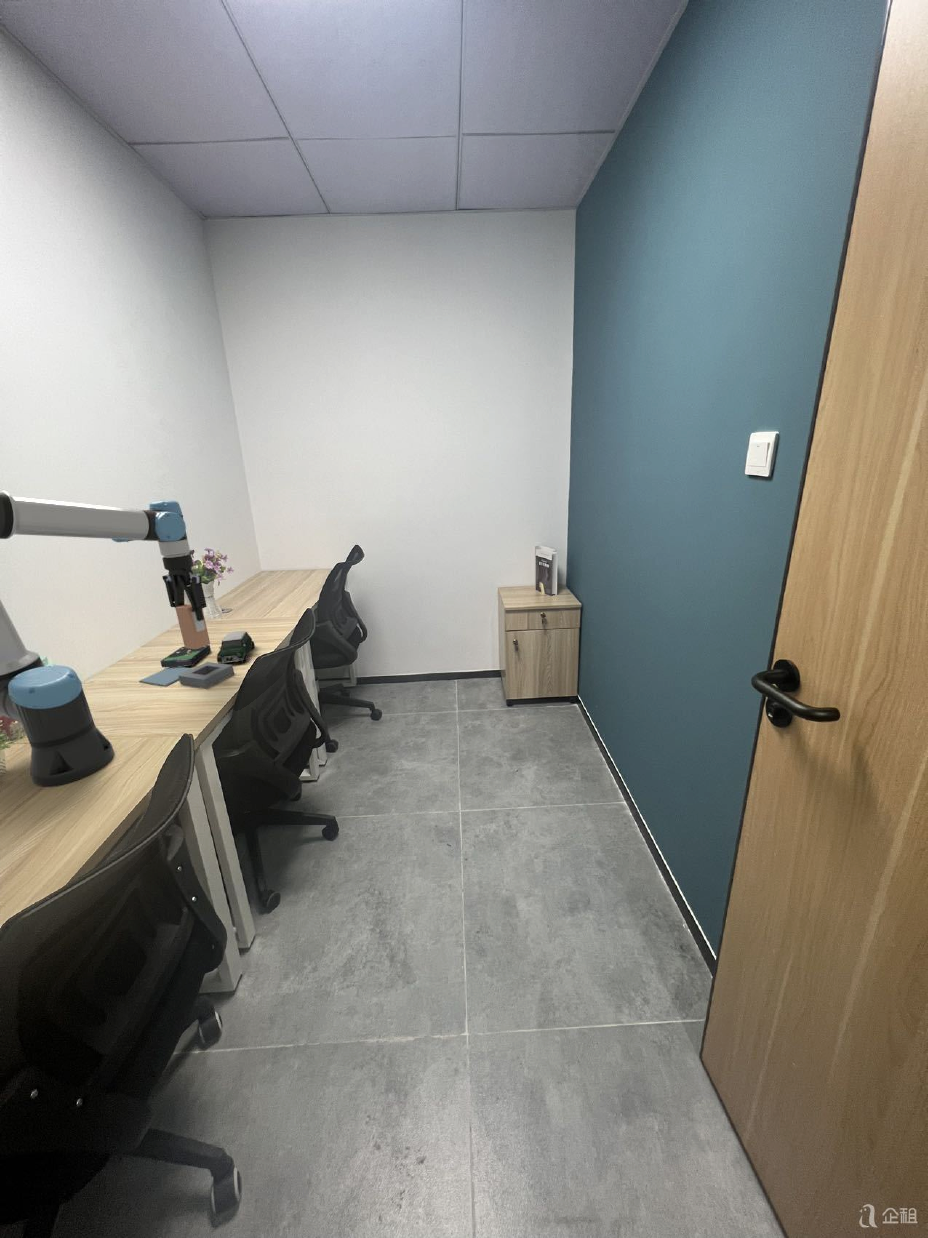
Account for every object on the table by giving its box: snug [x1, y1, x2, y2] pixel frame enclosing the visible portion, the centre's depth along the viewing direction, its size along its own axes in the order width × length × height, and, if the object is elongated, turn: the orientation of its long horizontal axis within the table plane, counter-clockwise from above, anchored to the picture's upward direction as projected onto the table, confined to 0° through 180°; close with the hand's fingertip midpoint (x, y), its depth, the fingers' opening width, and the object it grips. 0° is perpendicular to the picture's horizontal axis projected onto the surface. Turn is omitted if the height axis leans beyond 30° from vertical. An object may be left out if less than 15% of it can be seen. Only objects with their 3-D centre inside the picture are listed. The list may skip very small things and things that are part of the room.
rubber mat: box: [138, 666, 192, 688], centre depth 159 cm, size 12×12×1 cm
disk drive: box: [160, 644, 212, 668], centre depth 171 cm, size 10×3×15 cm
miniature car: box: [216, 630, 255, 664], centre depth 171 cm, size 9×18×8 cm, turn 11°
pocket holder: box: [178, 661, 235, 689], centre depth 155 cm, size 11×11×3 cm
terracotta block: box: [174, 602, 211, 649], centre depth 149 cm, size 5×5×13 cm
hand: (193, 629), depth 149 cm, fingers closed on terracotta block, 5 cm apart
